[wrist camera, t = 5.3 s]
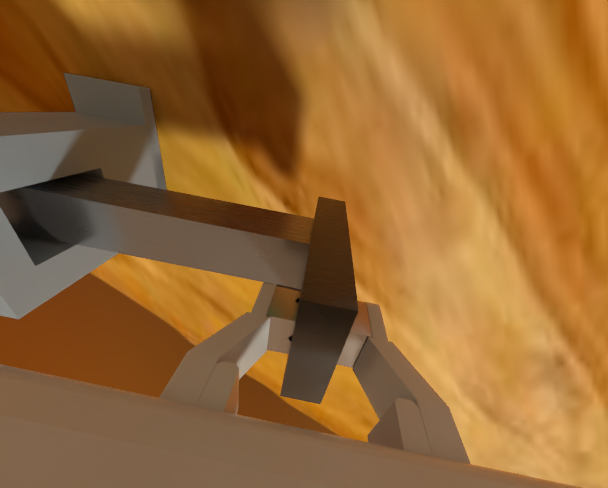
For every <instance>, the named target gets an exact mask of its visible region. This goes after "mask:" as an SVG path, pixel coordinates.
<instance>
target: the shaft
mask: <svg viewBox="0 0 608 488" xmlns="http://www.w3.org/2000/svg"><path fill="white" fill-rule="evenodd" d="M0 207H1V209H2V211H3V212H4V214H5V216H6V218H7V219H8V221H9V223H10V224H11V226H12V228H13V229H14V231H15V232H16V233H21V234H26V235H31V236H36V237H41V238H46V239H51V240H56V241H61V242H66V243H71V244H76V245H81V246H86V247H91V248H96V249H101V250H106V251H111V252H116V253H121V254H126V255H131V256H136V257H141V258H146V259H151V260H156V261H161V262H166V263H171V264H176V265H181V266H186V267H191V268H196V269H201V270H206V271H211V272H216V273H221V274H226V275H231V276H236V277H241V278H246V279H251V280H256V281H261V282H269V283H273V284H279V285H283V286H288V287H292V288H296V289H301V293H300V299H299V304H298V310H297V315H296V321H295V326H294V330H293V335H292V340H291V345H290V350H289V354H288V358H287V363H286V368H285V374H284V379H283V384H282V390H281V395H280V396H284V397H289V398H293V399H298V400H303V401H308V402H313V403H317V404H320V403H321V401H322V399H323V396H324V394H325V391H326V389H327V386H328V384H329V382H330V379H331V377H332V374H333V372H334V369H335V367H336V365H337V362H338V360H339V357H340V355H341V352H342V350H343V348H344V345H345V343H346V340H347V338H348V335H349V333H350V331H351V328H352V326H353V323H354V321H355V318H356V316H357V314H358V303H357V295H356V287H355V278H354V270H353V262H352V254H351V246H350V237H349V229H348V221H347V213H346V205H345V202H344V201H339V200H334V199H328V198H323V197H319V198H318V203H317V208H316V213H315V218H314V219H313V218H308V217H303V216H298V215H293V214H287V213H282V212H277V211H272V210H267V209H262V208H257V207H251V206H246V205H241V204H236V203H231V202H226V201H221V200H215V199H210V198H205V197H200V196H195V195H190V194H185V193H179V192H174V191H169V190H164V189H159V188H154V187H149V186H143V185H138V184H133V183H128V182H123V181H118V180H113V179H107V178H102V177H97V176H92V175H87V174H82V173H78V174H73V175H69V176H65V177H61V178H57V179H53V180H49V181H45V182H41V183H37V184H33V185H29V186H24V187H20V188H16V189H12V190H8V191H4V192H0Z"/></svg>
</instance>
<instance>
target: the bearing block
mask: <svg viewBox="0 0 608 488" xmlns="http://www.w3.org/2000/svg"><path fill="white" fill-rule="evenodd" d="M63 74H64V77H65V80H66V83H67V86H68V89H69V92H70V95H71V98H72V101H73V104H74V108H75V111H76V112H0V192H4V191H8V190H12V189H16V188H20V187H24V186H29V185H33V184H37V183H41V182H45V181H49V180H53V179H57V178H61V177H65V176H69V175H73V174H78V173H82V174H87V175H92V176H97V177H102V178H107V179H113V180H118V181H123V182H128V183H133V184H138V185H143V186H149V187H154V188H159V189H164V190H167V189H166V183H165V177H164V171H163V165H162V159H161V154H160V148H159V142H158V136H157V130H156V124H155V118H154V112H153V106H152V100H151V94H150V88H147V87H141V86H136V85H131V84H125V83H120V82H114V81H109V80H104V79H98V78H93V77H88V76H82V75H77V74H69V73H63ZM117 254H118V253H116V252H111V251H106V250H101V249H96V248H91V247H86V246H81V245H76V244H71V243H66V242H61V241H56V240H51V239H46V238H41V237H36V236H31V235H26V234H21V233H16V232H15V231H14V229H13V228H12V226H11V224H10V223H9V221H8V219H7V218H6V216H5V214H4V212H3V211H2V209H1V207H0V315H1V316H5V317H11V318H16V319H20V318H21V317H23V316H24V315H26V314H27V313H29V312H30V311H32V310H33V309H35V308H36V307H38V306H39V305H41V304H42V303H44V302H45V301H47V300H48V299H50V298H51V297H53V296H55V295H56V294H58V293H59V292H61V291H62V290H64V289H65V288H67V287H68V286H70V285H71V284H73V283H74V282H76V281H77V280H79V279H80V278H82V277H83V276H85V275H86V274H88V273H89V272H91V271H92V270H94V269H95V268H97V267H98V266H100V265H101V264H103V263H104V262H106V261H107V260H109V259H111V258H112V257H114V256H115V255H117Z"/></svg>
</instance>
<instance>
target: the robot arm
mask: <svg viewBox="0 0 608 488" xmlns="http://www.w3.org/2000/svg"><path fill="white" fill-rule="evenodd" d="M300 293H301V289H296V288H292V287H288V286H283V285H279V284H273V283H269V282H264V283H263V285H262V287H261V290H260V292H259V295H258V297H257V300H256V302H255V305H254V307H253V309H252V312H251V313H249V312H247V313H245V314H244V315H242V316H241V317H239V318H238V319H236V320H235V321H233V322H232V323H230V324H229V325H227V326H226V327H224V328H223V329H221V330H220V331H218V332H217V333H215V334H214V335H212V336H211V337H209V338H208V339H206V340H205V341H203V342H202V343H200V344H199V345H197V346H196V347H194V348H193V349H191V350H190V351H188V352H187V354H186V355H185V357H184V358H183V360H182V362H181V363H180V365H179V366H178V368H177V370H176V372H175V373H174V375H173V376H172V378H171V379H170V381H169V383H168V384H167V386H166V388H165V389H164V391H163V393H162V394H161V396H160V398H156V397H152V396H147V395H142V394H137V393H133V392H128V391H123V390H118V389H114V388H109V387H104V386H100V385H95V384H90V383H86V382H80V381H76V380H71V379H67V378H62V377H57V376H53V375H48V374H43V373H38V372H34V371H29V370H24V369H20V368H15V367H10V366H5V365H1V364H0V488H581V487H576V486H571V485H566V484H562V483H557V482H552V481H548V480H543V479H538V478H533V477H529V476H524V475H519V474H515V473H510V472H505V471H500V470H496V469H491V468H486V467H482V466H477V465H472V464H470V461H469V458H468V456H467V453H466V451H465V448H464V446H463V443H462V440H461V438H460V435H459V433H458V430H457V427H456V425H455V422H454V420H453V417H452V414H451V412H450V409H449V407H448V406H447V405H446V403H445V402H444V401H443V400H442V399H441V398H440V397H439V395H438V394H437V393H436V392H435V391H434V390H433V389H432V387H431V386H430V385H429V384H428V383H427V382H426V380H425V379H424V378H423V377H422V376H421V375H420V374H419V372H418V371H417V370H416V369H415V368H414V367H413V365H412V364H411V363H410V362H409V361H408V360H407V359H406V357H405V356H404V355H403V354H402V353H401V352H400V351H399V349H398V348H397V347H396V346H395V345H394V344H393V342H390V341H388V339H387V335H386V331H385V326H384V322H383V318H382V314H381V310H380V306H379V305H377V304H372V303H367V302H361V301H357V303H358V314H357V316H356V318H355V321H354V323H353V326H352V328H351V331H350V333H349V335H348V338H347V340H346V343H345V345H344V348H343V350H342V352H341V355H340V357H339V360H338V362H337V364H339V365H343V366H347V367H352V368H353V371H354V373H355V375H356V376H357V378H358V380H359V382H360V384H361V386H362V388H363V390H364V391H365V393H366V395H367V397H368V399H369V401H370V403H371V404H372V406H373V408H374V410H375V412H376V414H377V416H378V418H379V419H380V421H379V422H378V423H377V424H376V426H375V427H374V428H373V429H372V431H371V432H370V433H369V434H368V442H364V441H359V440H354V439H350V438H345V437H340V436H335V435H330V434H326V433H321V432H317V431H312V430H307V429H303V428H298V427H293V426H288V425H284V424H279V423H274V422H270V421H264V420H260V419H255V418H251V417H246V416H241V415H237V414H236V413H237V410H238V391H239V389H238V388H239V379H240V378H241V377H242V376H243V375H244V374H245V373H246V372H247V371H248V370H249V369H250V368H251V367H252V366H253V365H254V364H255V363H256V361H257V360H258V359H259V358H260V357H261V356H262V355H263V354H264V353H265V352H266V350H270V351H276V352H281V353H287V354H289V350H290V345H291V340H292V335H293V330H294V326H295V321H296V315H297V310H298V304H299V299H300Z"/></svg>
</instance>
